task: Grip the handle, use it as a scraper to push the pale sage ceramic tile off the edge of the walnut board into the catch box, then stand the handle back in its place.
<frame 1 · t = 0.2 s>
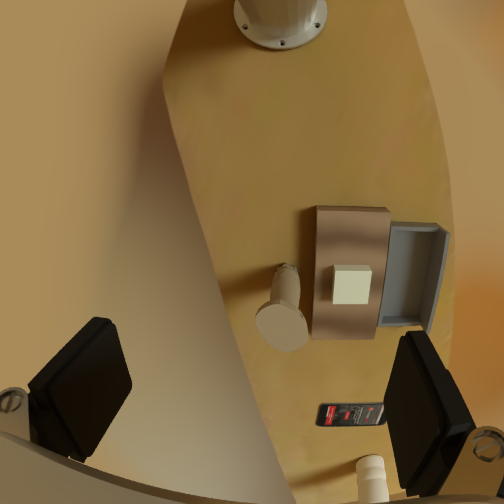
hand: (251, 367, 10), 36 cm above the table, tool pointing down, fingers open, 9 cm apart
handle: (287, 271, 48), on the table
board: (347, 272, 47), on the table
tile: (350, 281, 44), point 3 cm above the table, touching board
catch box: (405, 273, 45), on the table
smartphone: (354, 412, 57), on the table
water bottle: (369, 460, 63), on the table
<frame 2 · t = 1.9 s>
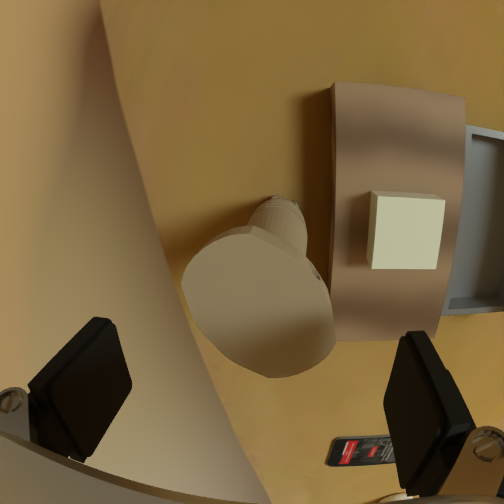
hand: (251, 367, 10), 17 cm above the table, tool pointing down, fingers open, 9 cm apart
handle: (280, 213, 26), on the table
board: (390, 215, 24), on the table
tile: (401, 226, 22), point 3 cm above the table, touching board
catch box: (482, 220, 23), on the table
smartphone: (382, 446, 35), on the table
water bottle: (393, 499, 41), on the table
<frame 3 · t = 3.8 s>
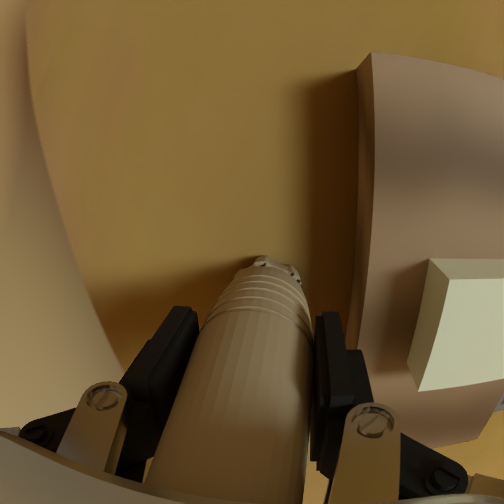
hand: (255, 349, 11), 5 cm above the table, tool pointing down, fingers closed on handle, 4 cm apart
handle: (269, 283, 16), on the table, touching gripper
board: (442, 284, 14), on the table
tile: (466, 312, 12), point 3 cm above the table, touching board
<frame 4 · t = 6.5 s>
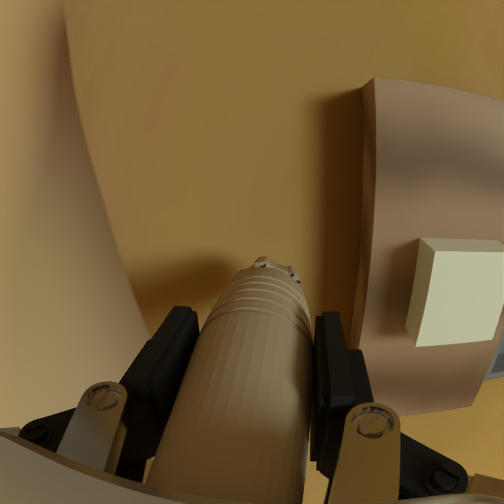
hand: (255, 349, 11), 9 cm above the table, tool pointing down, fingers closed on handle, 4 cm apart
handle: (269, 283, 16), point 3 cm above the table, touching gripper
board: (433, 263, 18), on the table
tile: (453, 283, 15), point 3 cm above the table, touching board
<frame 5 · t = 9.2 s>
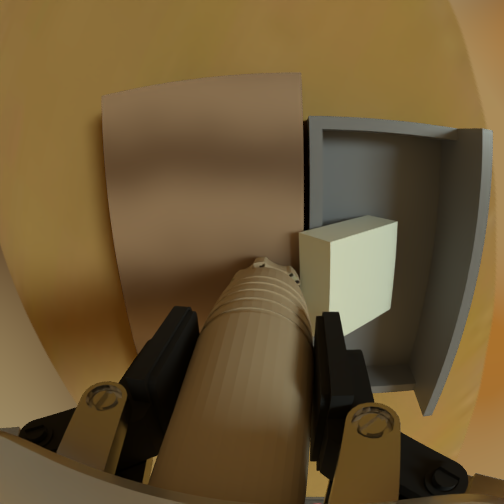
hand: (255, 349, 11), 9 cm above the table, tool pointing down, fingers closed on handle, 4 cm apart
handle: (268, 283, 16), point 3 cm above the table, touching gripper, tile
board: (216, 260, 19), on the table
tile: (336, 269, 16), point 2 cm above the table, tilted 40°, touching catch box, handle
catch box: (375, 262, 18), on the table
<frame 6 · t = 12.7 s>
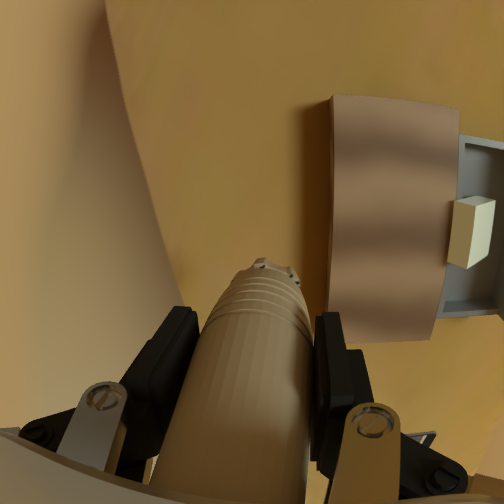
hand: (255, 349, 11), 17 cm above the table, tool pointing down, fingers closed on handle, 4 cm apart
handle: (268, 284, 16), point 12 cm above the table, touching gripper
board: (386, 222, 26), on the table
tile: (463, 226, 23), point 2 cm above the table, tilted 36°, touching catch box
catch box: (476, 226, 24), on the table
smartphone: (381, 447, 36), on the table
when the fingers open (6 cm above the table, at t = 15.0 s): handle stays where it is, on the table.
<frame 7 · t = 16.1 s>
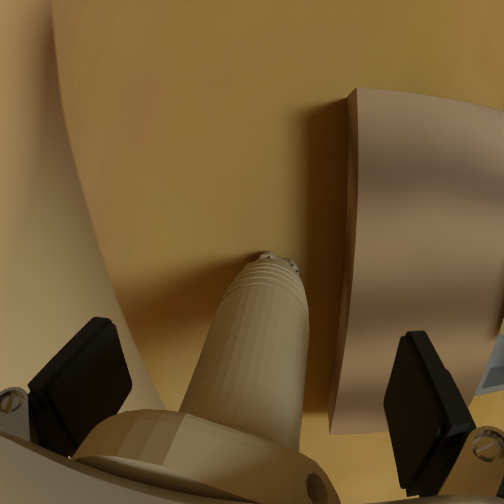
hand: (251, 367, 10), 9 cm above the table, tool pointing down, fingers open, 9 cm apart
handle: (272, 275, 19), on the table
board: (422, 278, 17), on the table
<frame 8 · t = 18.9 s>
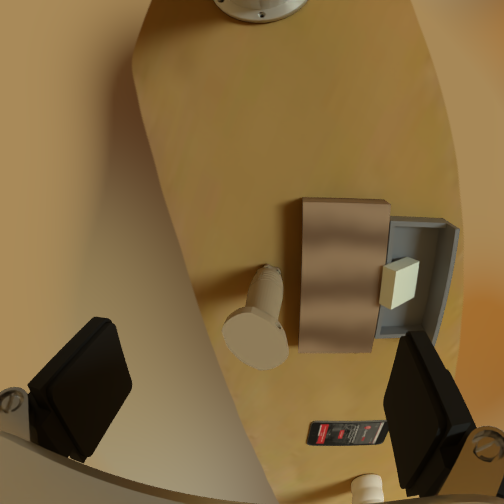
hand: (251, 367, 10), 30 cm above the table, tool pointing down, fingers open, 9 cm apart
handle: (269, 274, 42), on the table
board: (339, 276, 40), on the table
tile: (393, 279, 38), point 2 cm above the table, tilted 36°, touching catch box
catch box: (407, 276, 39), on the table
smartphone: (349, 431, 51), on the table
water bottle: (365, 479, 56), on the table
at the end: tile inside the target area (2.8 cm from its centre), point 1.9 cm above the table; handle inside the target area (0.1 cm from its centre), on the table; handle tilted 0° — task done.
